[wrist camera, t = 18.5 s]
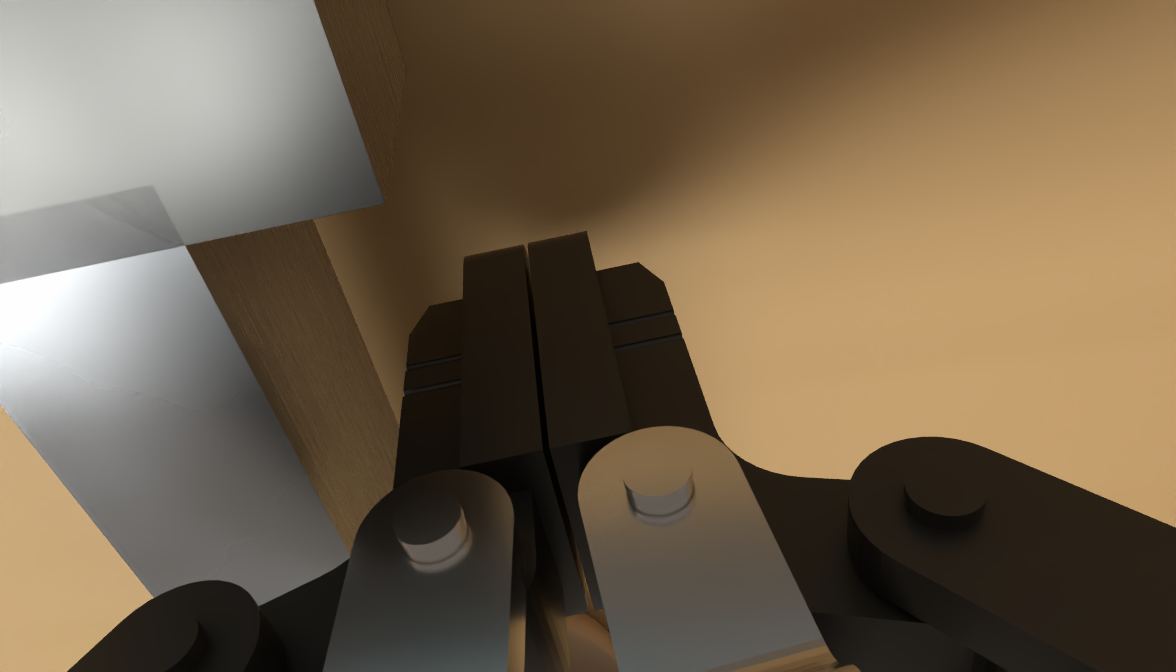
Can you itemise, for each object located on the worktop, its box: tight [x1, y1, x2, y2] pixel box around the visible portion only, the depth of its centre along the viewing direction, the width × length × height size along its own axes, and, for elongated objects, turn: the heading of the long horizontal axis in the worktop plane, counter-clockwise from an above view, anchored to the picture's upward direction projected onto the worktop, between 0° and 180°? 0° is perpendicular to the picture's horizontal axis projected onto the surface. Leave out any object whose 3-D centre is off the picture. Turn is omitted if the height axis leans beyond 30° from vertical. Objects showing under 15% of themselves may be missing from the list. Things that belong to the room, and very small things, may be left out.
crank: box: [0, 0, 407, 606], centre depth 12 cm, size 18×5×4 cm, turn 10°
